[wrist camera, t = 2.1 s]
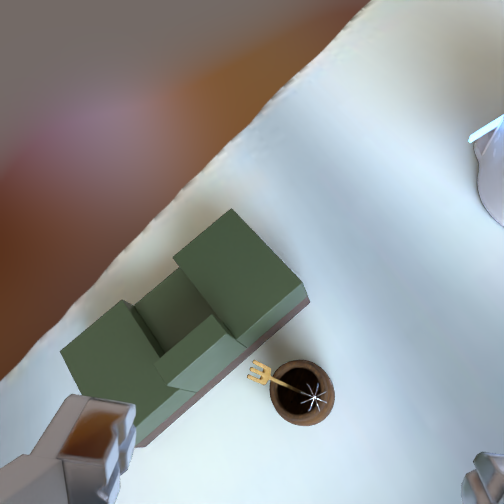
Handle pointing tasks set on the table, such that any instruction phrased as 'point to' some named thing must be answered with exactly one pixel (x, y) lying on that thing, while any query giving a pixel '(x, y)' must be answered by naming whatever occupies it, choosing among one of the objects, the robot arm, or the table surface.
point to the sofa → (187, 327)
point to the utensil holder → (298, 391)
